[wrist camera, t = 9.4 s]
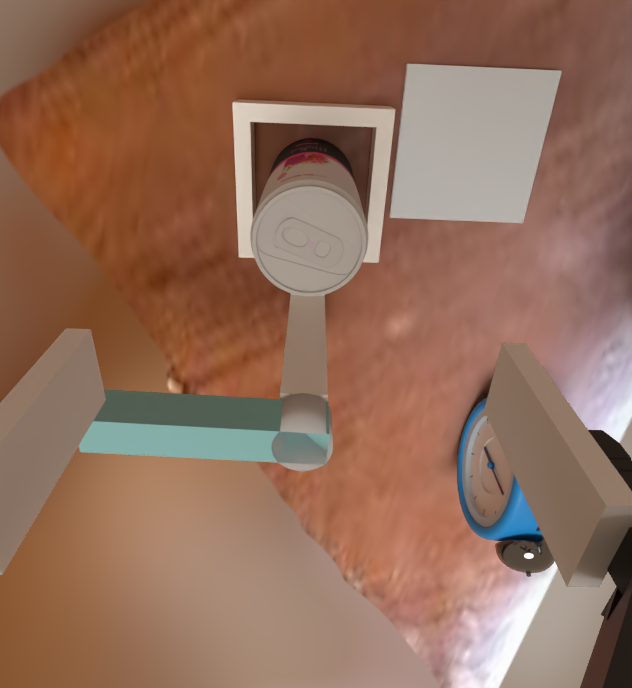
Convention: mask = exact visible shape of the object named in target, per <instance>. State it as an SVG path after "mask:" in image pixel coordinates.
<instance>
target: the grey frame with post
mask: <svg viewBox="0 0 632 688" xmlns="http://www.w3.org/2000/svg"><path fill="white" fill-rule="evenodd" d="M394 118H395V109H394V108H393V107H391V106H377V105H355V104H333V103H310V102H288V101H265V100H243V99H237V100H236V101H234V102H233V126H234V150H235V174H236V199H237V223H238V248H239V257H241V258H255V257H254V255H253V252H252V248H251V241H250V231H251V225H252V221H253V218H254V215H255V212H256V185H255V138H254V122H266V123H289V124H311V125H334V126H357V127H373V130H372V141H371V152H370V163H369V174H368V185H367V196H366V208H365V219H366V223H367V227H368V247H367V251H366V255H365V257H364V260H363V262H372V263H379V254H380V245H381V236H382V226H383V217H384V208H385V199H386V190H387V181H388V172H389V163H390V154H391V145H392V136H393V127H394ZM298 393H308V394H313V395H316V396H318V397H320V398H321V399H323V400H324V401H325V402H328V381H327V350H326V320H325V295H320V296H299V295H294V294H291V296H290V305H289V315H288V324H287V333H286V343H285V352H284V362H283V371H282V380H281V390H280V400H283V399H285V398H286V397H288V396H290V395H293V394H298Z"/></svg>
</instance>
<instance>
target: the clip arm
mask: <svg viewBox="0 0 632 688" xmlns="http://www.w3.org/2000/svg"><path fill="white" fill-rule="evenodd" d="M104 393H105V397H106V400H105V402H104V404H103V405H102V407H101V409H100V410H99V412H98V414H97V415H96V417H95V419H94V421H93V422H92V424H91V426H90V427H89V429H88V431H87V432H86V434H85V436H84V437H83V439H82V441H81V443H80V444H79V448H80V452H90V453H109V454H128V455H147V456H167V457H185V458H204V459H223V460H243V461H260V462H279V463H280V464H281V465H283V466H284V467H286V468H289V469H292V470H296V471H309V470H313V469H316V468H319V467H321V466H322V465H326V462H327V461H328V460H329V459H330V457H331V455H332V452H333V438H332V414H331V410H330V407H329V406H328V402H325V401H324V400H323V399H321V398H320V397H318V396H316V395H313V394H308V393H298V394H293V395H290V396H288V397H286V398H285V399H283V400H279V399H261V398H244V397H226V396H209V395H191V394H174V393H156V392H138V391H122V390H104Z"/></svg>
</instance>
